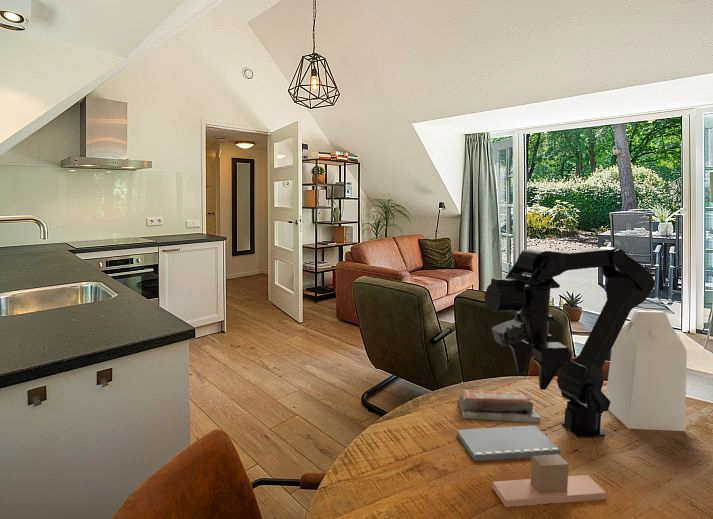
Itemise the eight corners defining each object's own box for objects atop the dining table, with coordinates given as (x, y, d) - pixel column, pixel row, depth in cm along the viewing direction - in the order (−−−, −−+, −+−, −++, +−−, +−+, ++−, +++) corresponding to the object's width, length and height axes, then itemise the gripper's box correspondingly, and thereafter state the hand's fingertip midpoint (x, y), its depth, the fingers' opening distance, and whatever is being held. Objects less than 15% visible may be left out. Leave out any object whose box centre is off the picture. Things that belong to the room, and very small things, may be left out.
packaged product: (463, 401, 100) (457, 384, 110) (462, 420, 101) (457, 402, 111) (542, 404, 98) (529, 387, 108) (541, 424, 99) (528, 405, 109)
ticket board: (534, 430, 95) (534, 424, 95) (560, 455, 85) (560, 449, 85) (457, 435, 93) (457, 429, 93) (474, 461, 83) (474, 454, 83)
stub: (586, 481, 77) (588, 448, 77) (606, 499, 72) (608, 465, 72) (492, 488, 75) (493, 455, 75) (505, 507, 70) (506, 472, 70)
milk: (654, 407, 106) (662, 306, 104) (684, 431, 95) (694, 318, 92) (604, 405, 108) (610, 305, 105) (628, 428, 96) (636, 316, 94)
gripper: (479, 301, 97) (477, 366, 99) (519, 321, 79) (516, 401, 80) (525, 300, 98) (522, 364, 100) (575, 319, 80) (571, 398, 82)
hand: (531, 380), depth 91 cm, fingers open, 9 cm apart
